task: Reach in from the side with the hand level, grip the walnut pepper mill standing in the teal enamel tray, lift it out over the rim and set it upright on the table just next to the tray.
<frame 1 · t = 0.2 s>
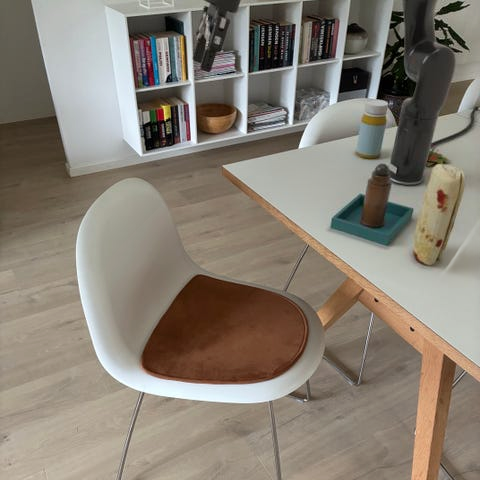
hand: (200, 66, 110), 31 cm above the table, tool tilted 20°, fingers open, 8 cm apart
bottle: (367, 155, 155), on the table
lily flower: (428, 160, 153), on the table
food model: (424, 259, 111), on the table
pepper mill: (371, 222, 121), point 1 cm above the table, touching tray
tray: (371, 225, 122), on the table
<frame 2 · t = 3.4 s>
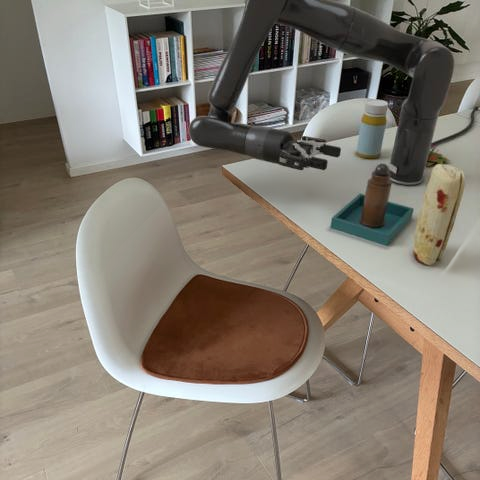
hand: (333, 158, 117), 14 cm above the table, tool horizontal, fingers open, 8 cm apart
nothing on the table moved.
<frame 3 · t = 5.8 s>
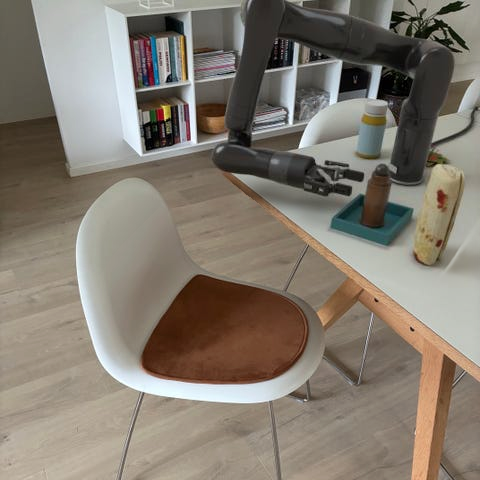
hand: (357, 184, 118), 9 cm above the table, tool horizontal, fingers open, 8 cm apart
nothing on the table moved.
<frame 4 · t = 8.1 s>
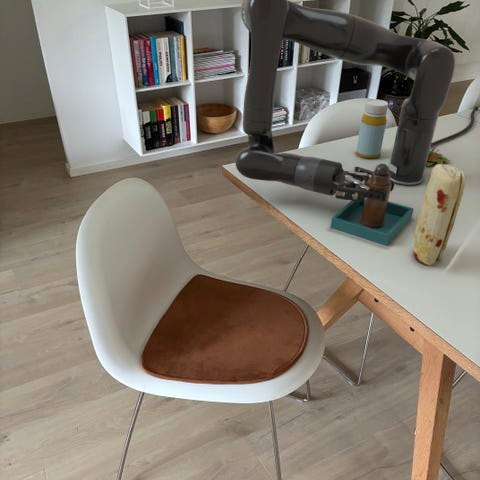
hand: (389, 191, 115), 9 cm above the table, tool horizontal, fingers closed on pepper mill, 5 cm apart
pepper mill: (371, 222, 121), point 1 cm above the table, touching gripper, tray
everything else where it was.
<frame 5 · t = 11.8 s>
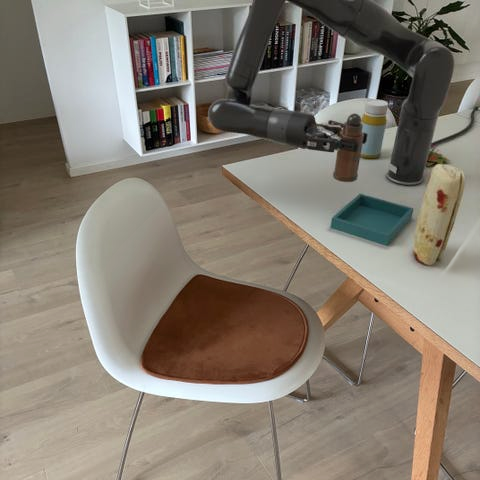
hand: (362, 142, 113), 18 cm above the table, tool horizontal, fingers closed on pepper mill, 5 cm apart
pepper mill: (344, 176, 120), point 9 cm above the table, touching gripper
everything else where it was.
when the fingers open (8 cm above the table, at t = 15.5 s): pepper mill stays where it is, on the table.
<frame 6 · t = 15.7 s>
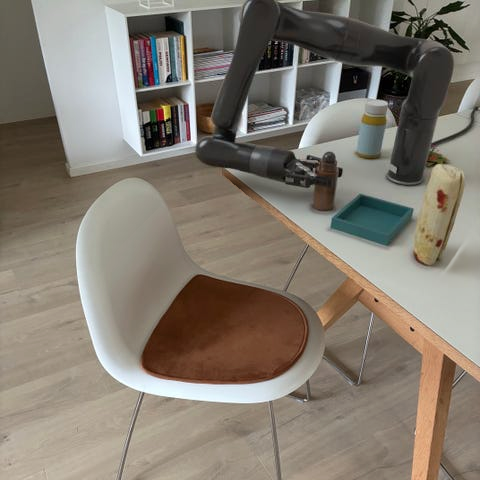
hand: (337, 177, 122), 8 cm above the table, tool horizontal, fingers open, 6 cm apart
pepper mill: (322, 208, 128), on the table
everything else where it was.
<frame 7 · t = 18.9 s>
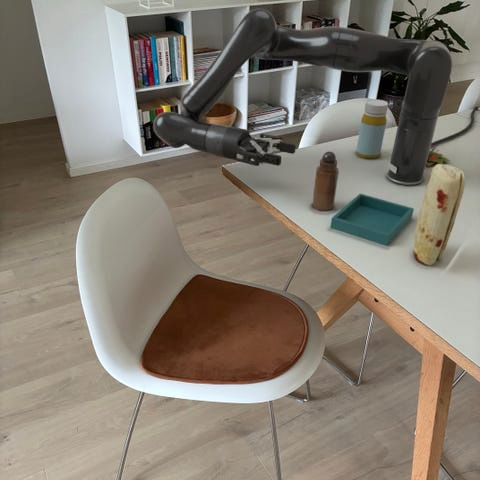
hand: (288, 155, 124), 11 cm above the table, tool horizontal, fingers open, 8 cm apart
nothing on the table moved.
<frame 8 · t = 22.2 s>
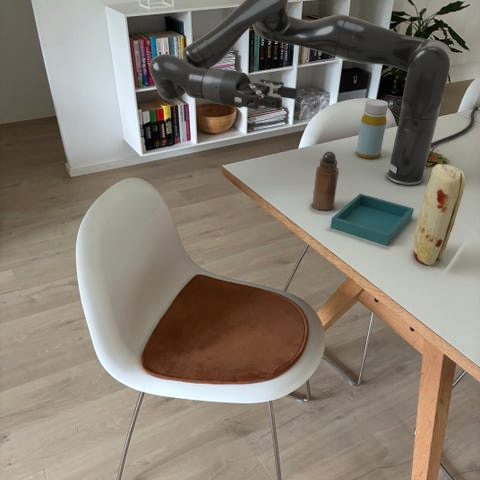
hand: (289, 98, 117), 24 cm above the table, tool horizontal, fingers open, 8 cm apart
nothing on the table moved.
at the end: pepper mill inside the target area (0.4 cm from its centre), on the table; pepper mill tilted 0°; the gripper is holding nothing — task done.
